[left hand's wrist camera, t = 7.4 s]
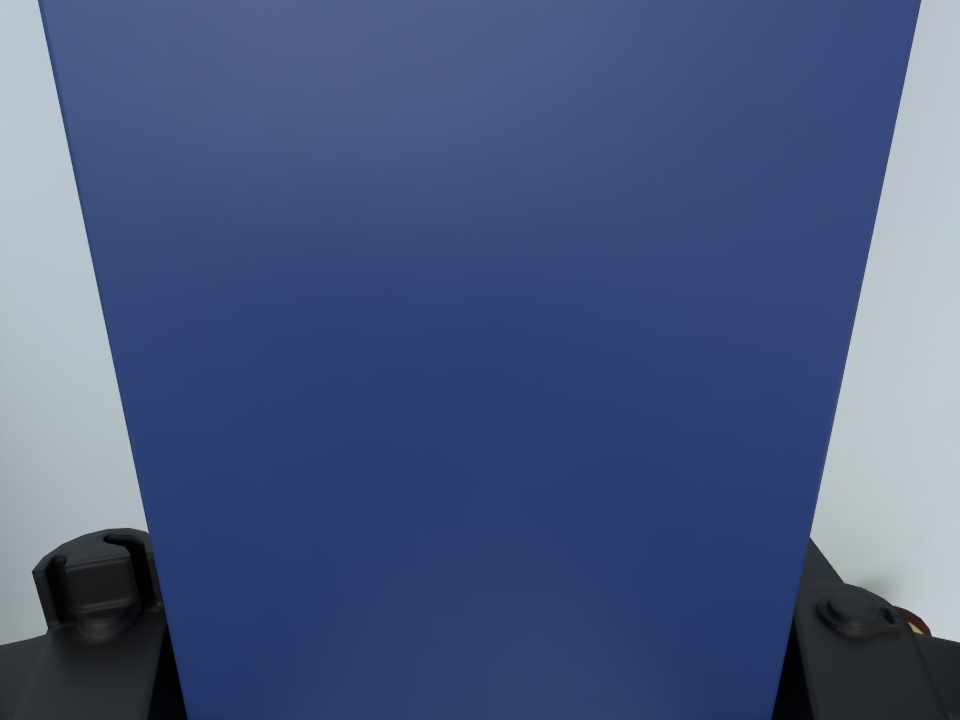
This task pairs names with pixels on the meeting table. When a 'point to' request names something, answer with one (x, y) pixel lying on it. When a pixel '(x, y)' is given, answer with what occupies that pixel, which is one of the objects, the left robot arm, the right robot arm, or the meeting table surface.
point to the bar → (479, 335)
